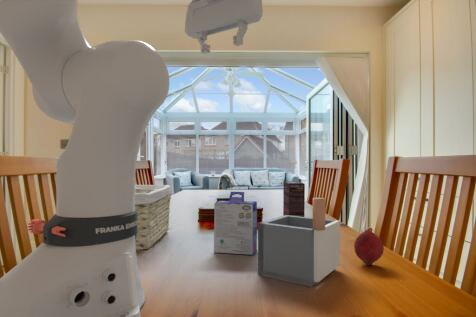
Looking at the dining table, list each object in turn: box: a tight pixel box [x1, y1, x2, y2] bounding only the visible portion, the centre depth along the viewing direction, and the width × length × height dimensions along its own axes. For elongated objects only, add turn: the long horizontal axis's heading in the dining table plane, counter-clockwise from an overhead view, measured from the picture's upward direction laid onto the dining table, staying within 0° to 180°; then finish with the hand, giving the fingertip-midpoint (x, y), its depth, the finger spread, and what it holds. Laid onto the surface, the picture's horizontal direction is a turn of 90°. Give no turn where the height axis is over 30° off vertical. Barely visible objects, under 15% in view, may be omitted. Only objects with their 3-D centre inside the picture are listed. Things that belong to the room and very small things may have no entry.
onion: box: [353, 227, 385, 266], centre depth 71 cm, size 6×6×8 cm
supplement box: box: [282, 181, 306, 217], centre depth 98 cm, size 9×5×16 cm, turn 4°
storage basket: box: [135, 184, 172, 251], centre depth 92 cm, size 24×16×15 cm
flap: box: [312, 197, 341, 283], centre depth 63 cm, size 12×2×14 cm, turn 145°
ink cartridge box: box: [213, 191, 258, 256], centre depth 81 cm, size 10×6×14 cm, turn 77°
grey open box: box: [257, 215, 335, 288], centre depth 66 cm, size 12×11×10 cm
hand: (221, 48), depth 76 cm, fingers open, 8 cm apart
